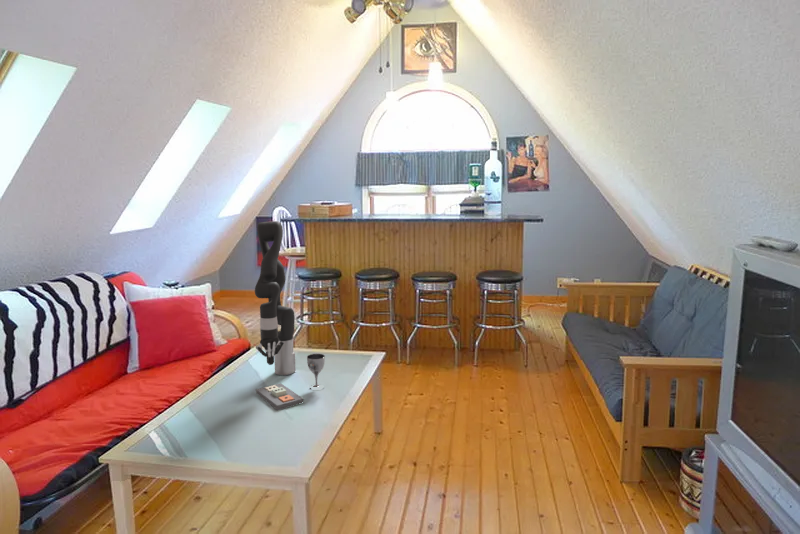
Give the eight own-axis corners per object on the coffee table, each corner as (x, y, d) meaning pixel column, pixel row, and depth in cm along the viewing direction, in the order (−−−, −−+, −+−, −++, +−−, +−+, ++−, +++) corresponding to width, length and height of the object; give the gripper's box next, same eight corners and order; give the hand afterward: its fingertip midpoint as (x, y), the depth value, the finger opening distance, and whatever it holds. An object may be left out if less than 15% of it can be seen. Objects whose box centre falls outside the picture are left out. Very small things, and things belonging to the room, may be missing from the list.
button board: (280, 387, 255) (280, 383, 254) (303, 403, 237) (303, 398, 237) (256, 393, 247) (255, 389, 247) (277, 410, 230) (277, 405, 230)
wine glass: (304, 389, 252) (303, 357, 250) (313, 383, 260) (312, 352, 257) (319, 392, 249) (319, 360, 247) (328, 385, 257) (327, 354, 254)
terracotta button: (289, 399, 240) (288, 394, 240) (294, 403, 236) (293, 397, 236) (278, 402, 237) (278, 396, 237) (283, 406, 234) (283, 400, 233)
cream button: (275, 390, 251) (274, 384, 251) (279, 393, 247) (279, 387, 247) (265, 392, 248) (264, 387, 248) (269, 395, 245) (269, 390, 244)
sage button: (281, 392, 245) (281, 386, 245) (286, 395, 242) (286, 389, 241) (271, 394, 243) (271, 389, 242) (276, 398, 239) (276, 392, 238)
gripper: (278, 322, 250) (280, 358, 253) (251, 327, 242) (253, 365, 245) (286, 325, 245) (287, 363, 248) (258, 331, 236) (260, 369, 239)
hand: (270, 364), depth 246 cm, fingers closed
